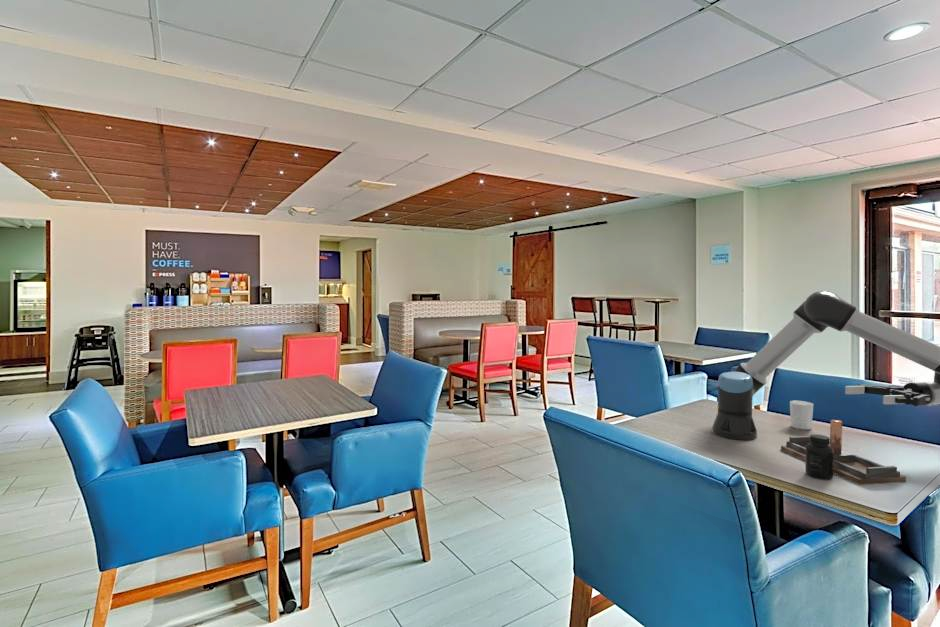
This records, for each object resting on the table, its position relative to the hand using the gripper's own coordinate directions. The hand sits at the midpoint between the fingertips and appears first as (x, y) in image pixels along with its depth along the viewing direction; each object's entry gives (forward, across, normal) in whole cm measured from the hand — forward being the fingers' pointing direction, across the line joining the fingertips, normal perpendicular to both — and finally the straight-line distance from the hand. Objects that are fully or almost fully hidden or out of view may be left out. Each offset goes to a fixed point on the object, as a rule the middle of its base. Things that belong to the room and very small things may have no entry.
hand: (864, 394), depth 158 cm
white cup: (-9, +35, -22) cm, 43 cm away
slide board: (+12, -4, -22) cm, 25 cm away
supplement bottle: (+25, -11, -22) cm, 35 cm away
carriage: (+12, -3, -20) cm, 23 cm away
